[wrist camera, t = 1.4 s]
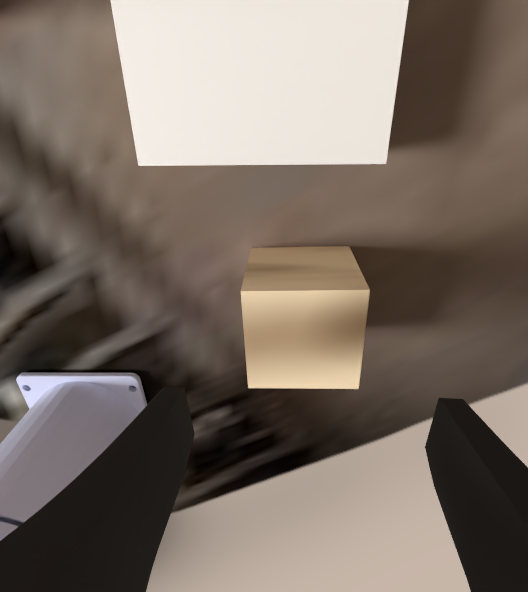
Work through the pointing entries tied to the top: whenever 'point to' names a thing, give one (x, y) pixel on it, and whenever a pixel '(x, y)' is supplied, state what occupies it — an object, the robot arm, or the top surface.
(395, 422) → the top surface
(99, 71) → the top surface
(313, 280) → the maple cube
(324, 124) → the white block
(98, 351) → the top surface
